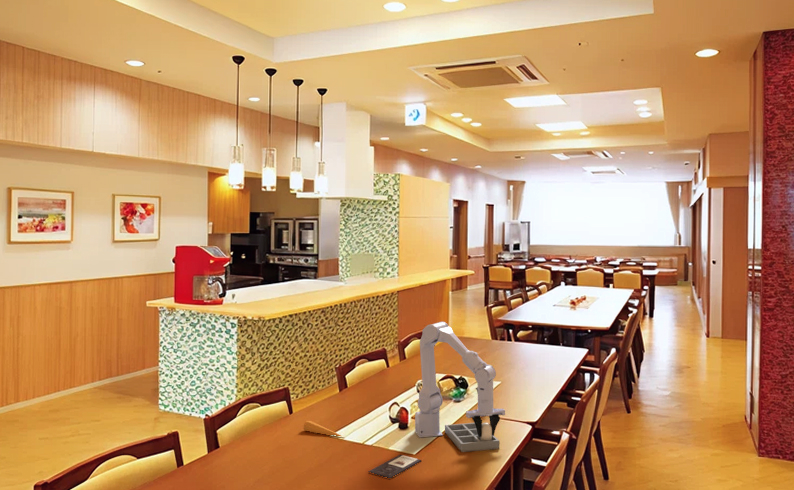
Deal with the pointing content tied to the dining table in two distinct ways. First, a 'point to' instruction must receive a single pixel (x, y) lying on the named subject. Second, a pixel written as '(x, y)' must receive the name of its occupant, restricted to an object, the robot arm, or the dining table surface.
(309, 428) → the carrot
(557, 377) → the dining table surface
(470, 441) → the grey compartment tray
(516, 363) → the dining table surface
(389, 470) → the chocolate bar
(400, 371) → the dining table surface
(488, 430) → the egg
